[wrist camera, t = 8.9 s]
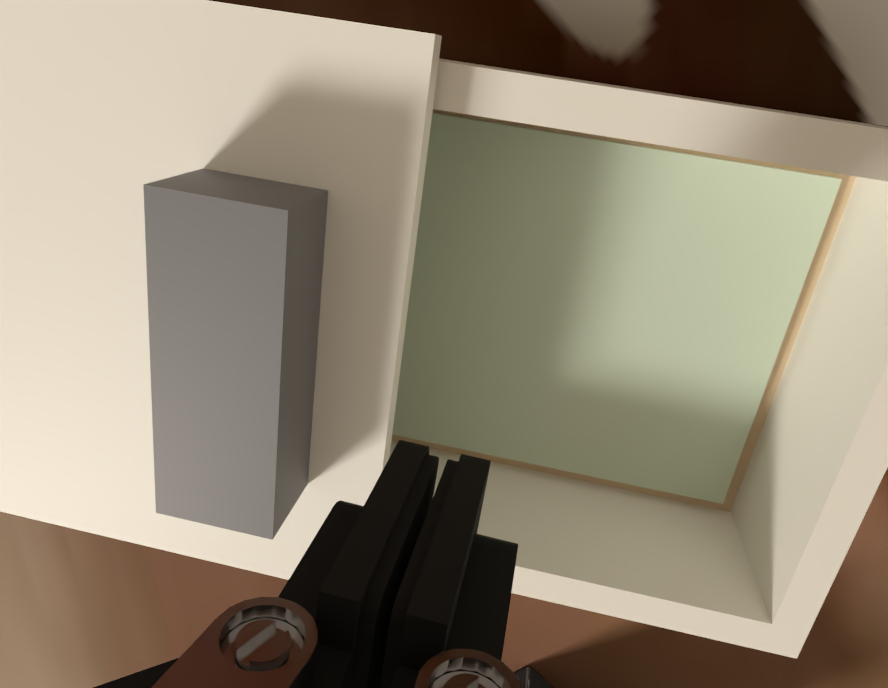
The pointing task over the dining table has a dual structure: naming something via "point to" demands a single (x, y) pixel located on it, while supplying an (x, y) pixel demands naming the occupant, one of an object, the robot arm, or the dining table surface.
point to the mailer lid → (203, 267)
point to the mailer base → (654, 343)
